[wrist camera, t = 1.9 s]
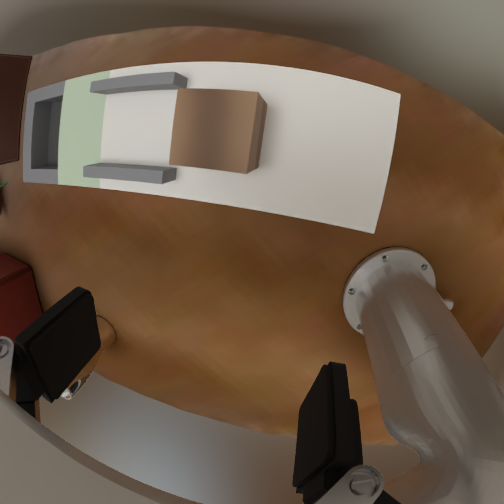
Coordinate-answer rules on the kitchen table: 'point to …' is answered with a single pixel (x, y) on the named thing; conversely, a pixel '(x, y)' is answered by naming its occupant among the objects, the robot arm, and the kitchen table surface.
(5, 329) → the plant pot
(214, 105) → the walnut block
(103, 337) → the beer glass
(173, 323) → the kitchen table surface
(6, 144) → the letter holder
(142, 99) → the channel deck
